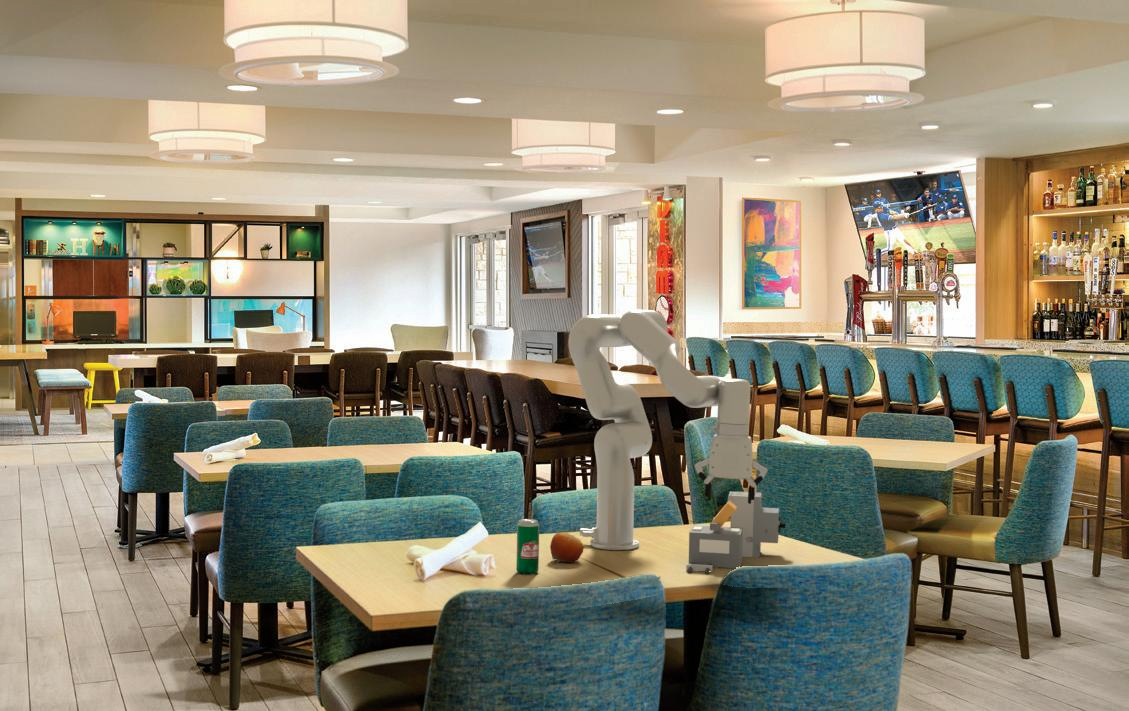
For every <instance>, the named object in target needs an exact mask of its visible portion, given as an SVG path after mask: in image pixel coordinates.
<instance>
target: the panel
mask: <svg viewBox="0 0 1129 711" xmlns="http://www.w3.org/2000/svg"><path fill="white" fill-rule="evenodd" d="M715 517H716V516H715ZM715 517H714V516H713V517H712V520H713V519H714V518H715ZM742 542H743V528H735V527H731V526H729V527H728V526H722V527H721V528H720V523H712V522H710V523H709V525H697V524H696V525H695V524H693V526H692V527H691V528H690V530H689V533H688V564H691V563H692V562H693V563H695V564H699V565H708V564H709V563H710V564H711V565H713V567H712V568H715V567H728V568H727V569H732V568H736V567H739V566H740V567H741V566H742V561H743V556H742Z"/></svg>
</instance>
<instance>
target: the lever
mask: <svg viewBox="0 0 1129 711" xmlns="http://www.w3.org/2000/svg"><path fill="white" fill-rule="evenodd" d="M736 508H737V506H736V505H734V504H733V503H732V502H731V501H728V500H727V502H726V504H724V505H723V507H722V508H721V509H720V510H719V512H718V513H717V514H716V516H715V518H714V519H713V518H712V521H711V523H720V528H721V527H724V524H725V523H726V522H727V521H728V520H729V518H731V515H732V514H733V512H734V511H735V510H736Z"/></svg>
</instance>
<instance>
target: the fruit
mask: <svg viewBox="0 0 1129 711" xmlns="http://www.w3.org/2000/svg"><path fill="white" fill-rule="evenodd" d="M549 548H550V554H551V557H552V560H556V565H558V563H559V562H566V563H576V562H577V561H578V560H579V559H580V558H581V556H582V554H583V553H584V548H585V546H584V543H583V542H582V540H581V539H579V538H578V537H576V536H575V535H572V534H571V533H569V532H559V531H558V532H557V533H555V534H554V535H553V536H552V538H551V540H550V547H549Z"/></svg>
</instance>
